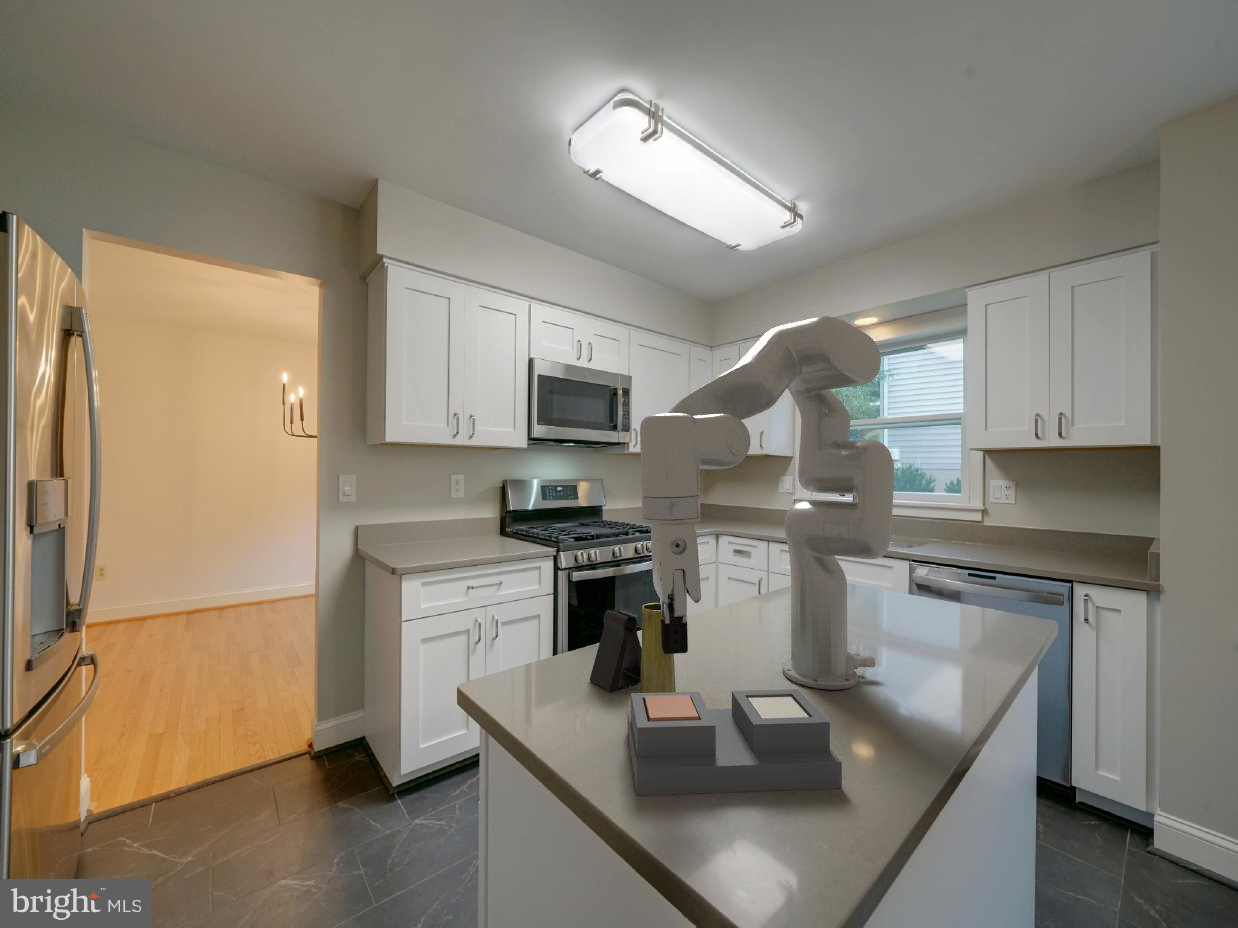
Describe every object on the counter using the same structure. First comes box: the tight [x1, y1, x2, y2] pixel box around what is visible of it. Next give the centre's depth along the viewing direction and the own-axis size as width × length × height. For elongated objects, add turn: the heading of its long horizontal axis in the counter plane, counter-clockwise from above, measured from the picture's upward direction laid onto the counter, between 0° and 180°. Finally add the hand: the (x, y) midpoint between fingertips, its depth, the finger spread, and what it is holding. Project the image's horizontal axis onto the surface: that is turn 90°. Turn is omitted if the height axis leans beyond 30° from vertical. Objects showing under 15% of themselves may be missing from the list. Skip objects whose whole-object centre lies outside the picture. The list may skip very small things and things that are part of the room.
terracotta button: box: [645, 695, 699, 722], centre depth 65 cm, size 6×6×3 cm
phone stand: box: [589, 608, 642, 694], centre depth 90 cm, size 9×6×12 cm, turn 127°
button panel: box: [627, 688, 843, 796], centre depth 66 cm, size 24×14×6 cm, turn 93°
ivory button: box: [748, 697, 809, 718], centre depth 66 cm, size 6×6×3 cm
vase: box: [638, 602, 677, 693], centre depth 85 cm, size 6×6×14 cm
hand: (674, 650), depth 66 cm, fingers closed
